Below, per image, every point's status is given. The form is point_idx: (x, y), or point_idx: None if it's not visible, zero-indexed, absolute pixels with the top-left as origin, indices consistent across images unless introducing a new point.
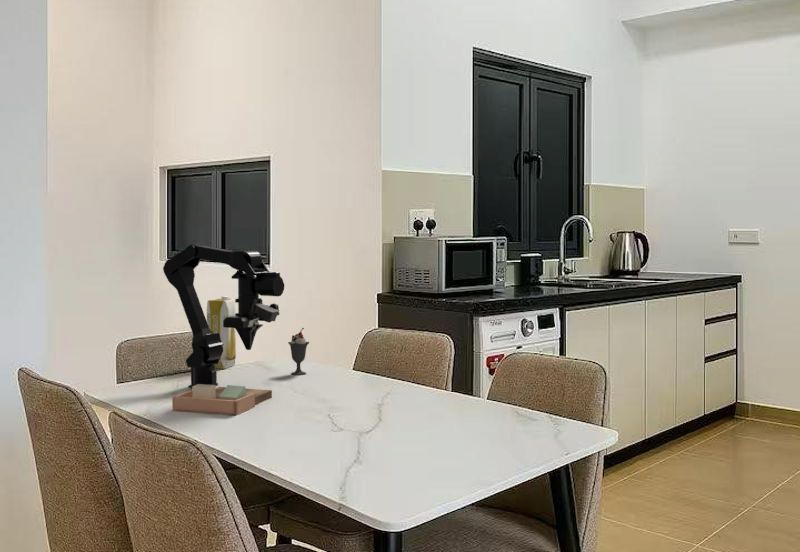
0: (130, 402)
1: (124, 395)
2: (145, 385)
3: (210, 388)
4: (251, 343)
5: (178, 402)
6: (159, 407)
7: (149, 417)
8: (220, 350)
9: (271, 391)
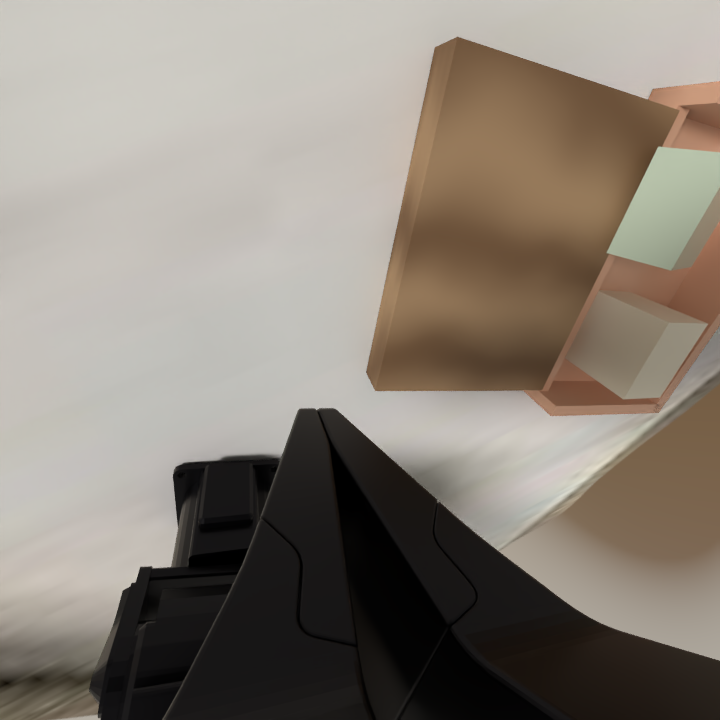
0: (498, 520)
1: None
2: None
3: (698, 320)
4: (329, 451)
5: None
6: (569, 435)
7: (679, 396)
8: (182, 636)
9: (457, 40)
